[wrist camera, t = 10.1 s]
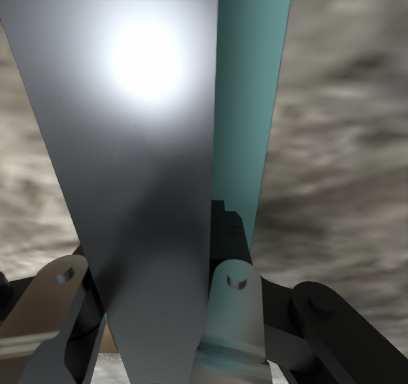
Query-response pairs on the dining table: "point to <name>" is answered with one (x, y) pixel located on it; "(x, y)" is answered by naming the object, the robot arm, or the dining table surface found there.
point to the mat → (245, 100)
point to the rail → (131, 157)
